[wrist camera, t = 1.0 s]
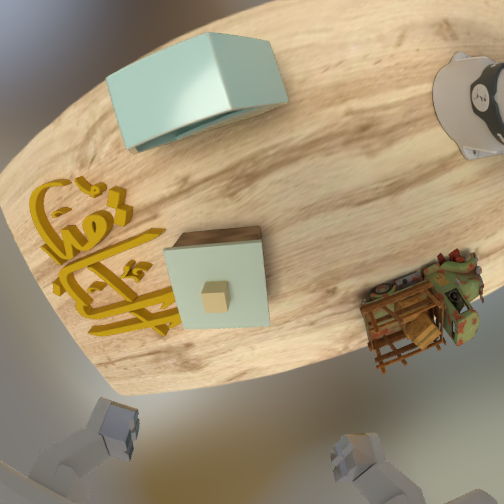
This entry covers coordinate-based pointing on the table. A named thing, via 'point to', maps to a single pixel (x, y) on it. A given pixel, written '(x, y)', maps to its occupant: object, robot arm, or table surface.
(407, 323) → the toy truck
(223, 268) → the lid
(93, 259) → the decorative art
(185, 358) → the table surface
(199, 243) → the walnut box
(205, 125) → the planter
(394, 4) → the table surface
